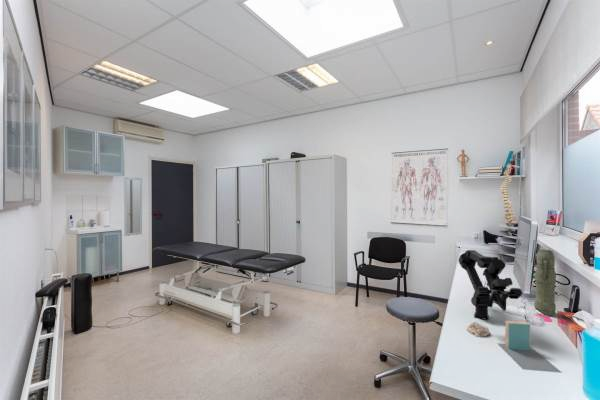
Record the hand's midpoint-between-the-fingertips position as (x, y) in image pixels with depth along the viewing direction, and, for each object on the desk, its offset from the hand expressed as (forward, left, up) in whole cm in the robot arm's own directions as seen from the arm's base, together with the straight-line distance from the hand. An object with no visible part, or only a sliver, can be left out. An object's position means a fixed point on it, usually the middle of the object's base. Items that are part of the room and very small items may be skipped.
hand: (504, 310), depth 133 cm
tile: (+9, +4, -12) cm, 16 cm away
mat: (+15, +7, -13) cm, 21 cm away
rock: (+2, -10, -13) cm, 17 cm away
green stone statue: (-46, +19, -13) cm, 51 cm away
